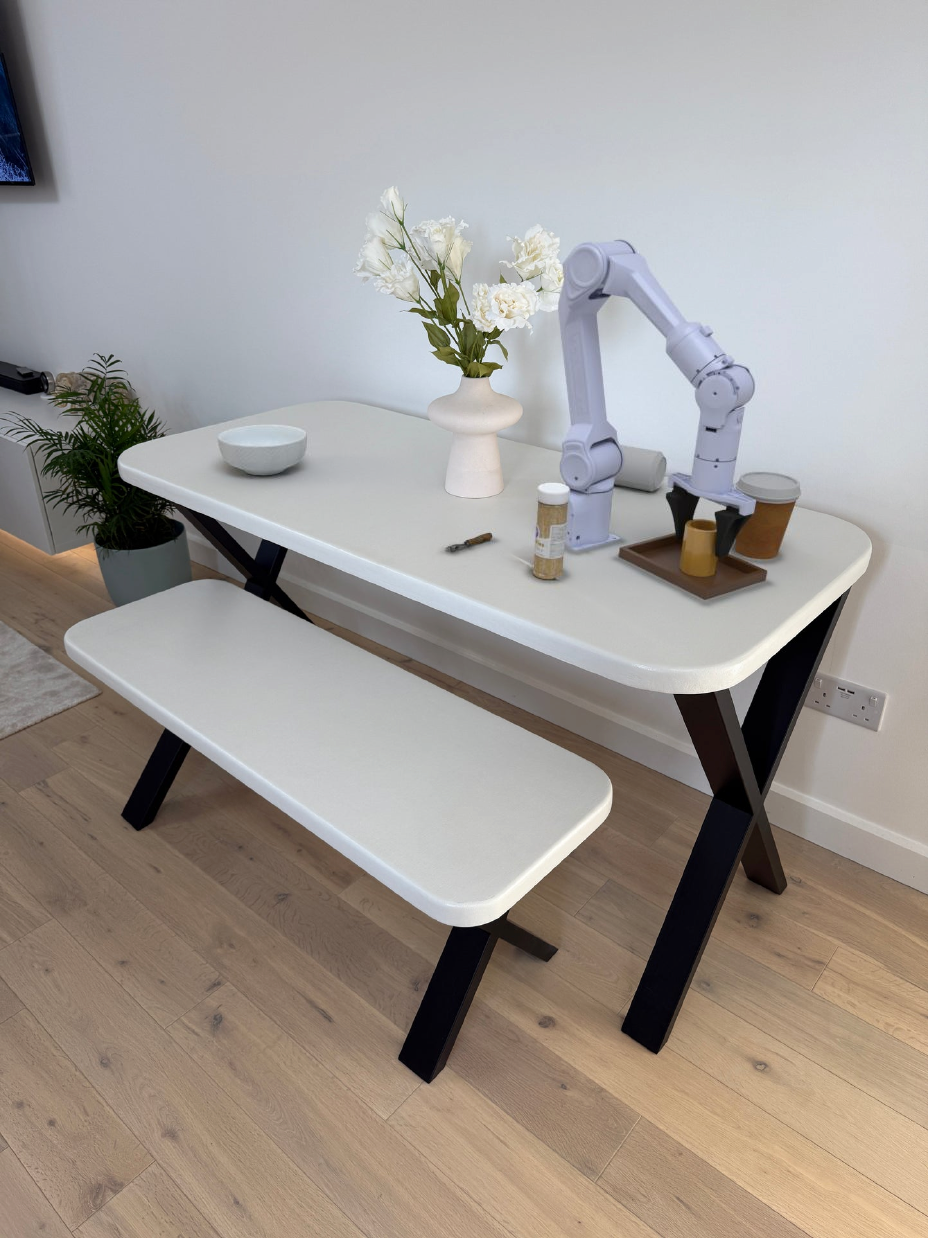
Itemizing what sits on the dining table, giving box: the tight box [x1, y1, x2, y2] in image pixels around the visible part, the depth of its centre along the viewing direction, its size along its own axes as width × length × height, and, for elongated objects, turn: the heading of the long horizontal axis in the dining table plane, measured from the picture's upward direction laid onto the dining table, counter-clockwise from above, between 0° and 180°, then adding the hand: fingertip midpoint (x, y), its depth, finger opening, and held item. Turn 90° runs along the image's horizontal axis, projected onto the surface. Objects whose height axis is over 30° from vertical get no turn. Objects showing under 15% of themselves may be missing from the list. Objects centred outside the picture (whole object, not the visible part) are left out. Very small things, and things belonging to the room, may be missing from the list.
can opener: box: [445, 532, 493, 552], centre depth 134 cm, size 9×2×1 cm, turn 125°
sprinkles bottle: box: [532, 482, 570, 580], centre depth 122 cm, size 5×5×14 cm
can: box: [614, 444, 668, 493], centre depth 160 cm, size 8×8×12 cm
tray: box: [618, 532, 768, 601], centre depth 127 cm, size 13×18×2 cm
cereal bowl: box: [217, 424, 308, 476], centre depth 165 cm, size 17×17×7 cm
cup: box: [679, 518, 718, 577], centre depth 125 cm, size 5×5×7 cm
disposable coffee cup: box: [734, 471, 802, 561], centre depth 130 cm, size 10×10×12 cm
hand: (701, 546), depth 125 cm, fingers open, 7 cm apart
